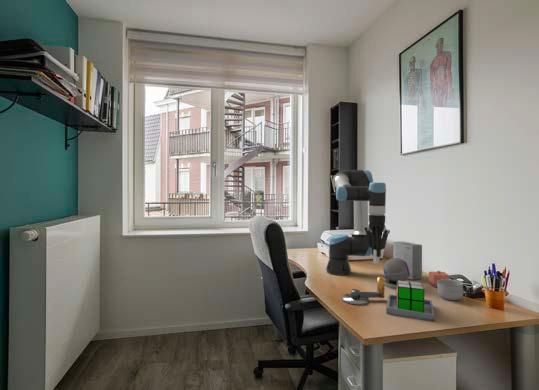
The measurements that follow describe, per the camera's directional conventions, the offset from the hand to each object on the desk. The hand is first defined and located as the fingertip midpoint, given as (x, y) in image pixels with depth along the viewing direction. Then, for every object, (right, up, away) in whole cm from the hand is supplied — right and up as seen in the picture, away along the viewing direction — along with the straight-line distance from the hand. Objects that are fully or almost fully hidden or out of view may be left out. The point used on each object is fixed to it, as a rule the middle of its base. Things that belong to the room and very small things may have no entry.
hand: (376, 262), depth 147 cm
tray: (+9, -16, -17) cm, 25 cm away
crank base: (-12, -16, -6) cm, 21 cm away
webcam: (+16, -16, +16) cm, 28 cm away
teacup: (+36, -17, -2) cm, 39 cm away
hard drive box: (+31, -16, +35) cm, 49 cm away
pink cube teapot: (+39, -16, +15) cm, 45 cm away
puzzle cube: (+9, -16, -16) cm, 24 cm away
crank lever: (-6, -15, -6) cm, 17 cm away
